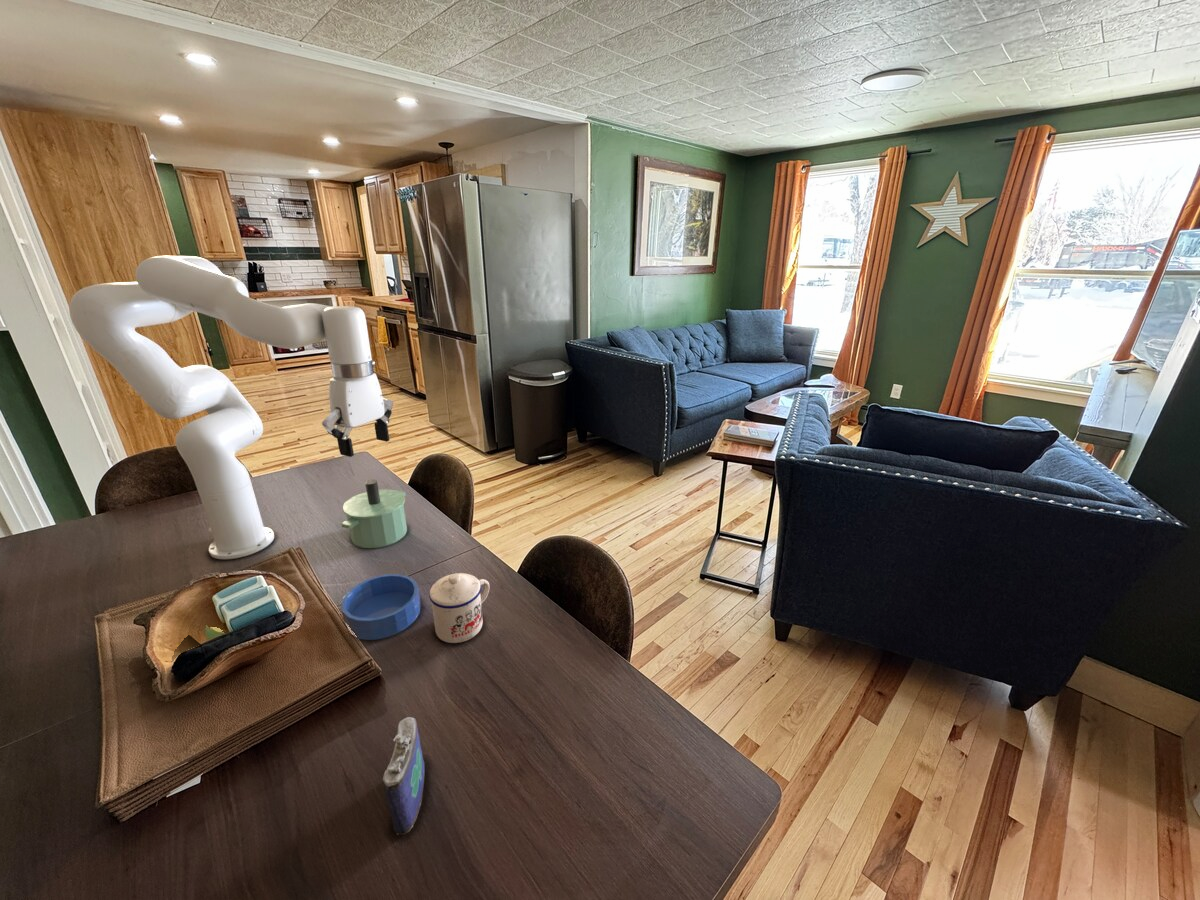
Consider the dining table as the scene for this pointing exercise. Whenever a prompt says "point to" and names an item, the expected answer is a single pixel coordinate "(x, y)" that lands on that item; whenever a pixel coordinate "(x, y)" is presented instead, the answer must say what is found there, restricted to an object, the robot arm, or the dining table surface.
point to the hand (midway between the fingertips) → (365, 447)
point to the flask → (405, 777)
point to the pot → (377, 529)
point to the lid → (373, 502)
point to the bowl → (381, 606)
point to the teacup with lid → (458, 606)
